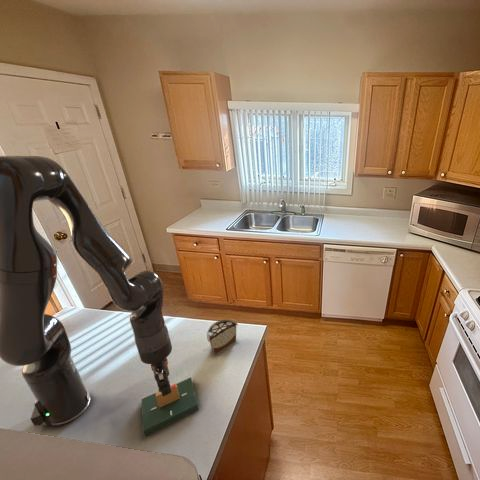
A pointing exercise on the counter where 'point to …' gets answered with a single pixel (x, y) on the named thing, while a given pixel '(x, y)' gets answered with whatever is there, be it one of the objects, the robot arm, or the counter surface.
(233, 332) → the cake slice
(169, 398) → the handle
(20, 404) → the counter surface
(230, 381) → the counter surface
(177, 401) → the panel
